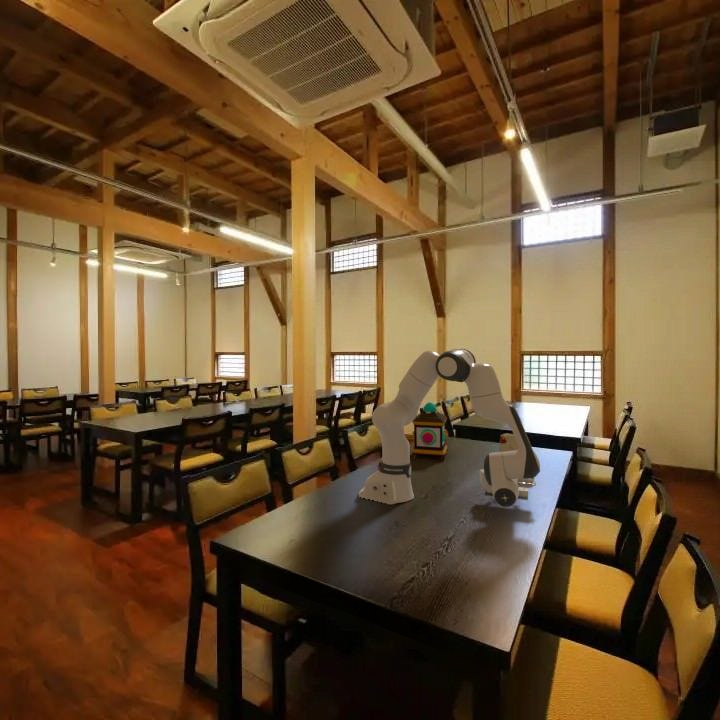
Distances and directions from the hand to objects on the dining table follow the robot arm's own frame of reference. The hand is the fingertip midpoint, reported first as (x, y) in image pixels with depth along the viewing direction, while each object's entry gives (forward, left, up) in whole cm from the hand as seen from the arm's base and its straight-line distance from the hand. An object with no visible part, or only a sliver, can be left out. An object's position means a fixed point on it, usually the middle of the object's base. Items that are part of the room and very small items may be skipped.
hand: (506, 472), depth 165 cm
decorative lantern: (-41, +48, -10) cm, 64 cm away
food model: (+1, +26, -10) cm, 28 cm away
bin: (0, +8, -9) cm, 12 cm away
